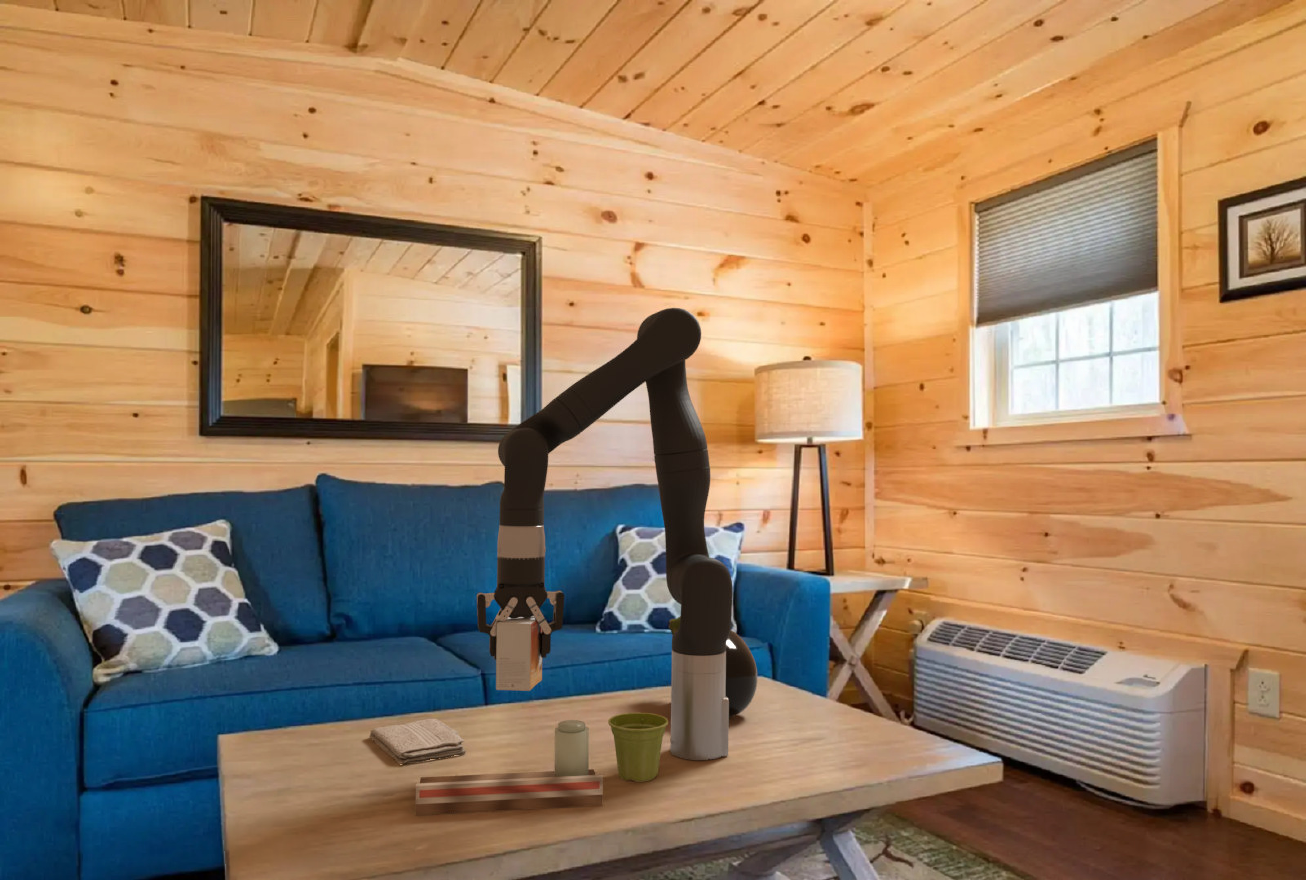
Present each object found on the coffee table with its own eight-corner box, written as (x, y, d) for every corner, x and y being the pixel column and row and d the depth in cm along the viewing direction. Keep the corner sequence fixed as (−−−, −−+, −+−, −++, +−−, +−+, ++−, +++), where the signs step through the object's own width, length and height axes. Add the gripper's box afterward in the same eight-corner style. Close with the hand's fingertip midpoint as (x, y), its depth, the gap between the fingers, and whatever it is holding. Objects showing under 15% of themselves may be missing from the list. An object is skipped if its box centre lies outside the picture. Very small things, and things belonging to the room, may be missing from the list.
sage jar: (586, 776, 140) (586, 718, 140) (590, 788, 135) (590, 727, 135) (552, 778, 139) (553, 719, 139) (556, 790, 134) (556, 729, 134)
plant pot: (623, 790, 139) (624, 731, 139) (597, 771, 147) (598, 716, 147) (678, 780, 143) (679, 724, 143) (650, 762, 151) (650, 709, 152)
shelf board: (593, 778, 143) (593, 752, 143) (602, 805, 132) (603, 777, 133) (420, 787, 139) (421, 760, 139) (415, 815, 128) (415, 786, 128)
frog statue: (690, 749, 175) (642, 682, 197) (763, 737, 181) (708, 673, 203) (699, 660, 170) (648, 601, 192) (774, 650, 176) (716, 594, 198)
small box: (530, 692, 143) (531, 623, 143) (494, 690, 144) (495, 622, 144) (543, 680, 151) (543, 615, 151) (509, 678, 152) (510, 614, 152)
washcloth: (400, 770, 148) (401, 750, 148) (366, 740, 163) (367, 723, 163) (470, 757, 154) (471, 738, 155) (432, 730, 169) (432, 713, 169)
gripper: (562, 550, 153) (560, 651, 153) (474, 551, 150) (472, 654, 149) (569, 555, 146) (568, 661, 146) (477, 556, 142) (475, 665, 142)
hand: (519, 657), depth 147 cm, fingers closed on small box, 7 cm apart
